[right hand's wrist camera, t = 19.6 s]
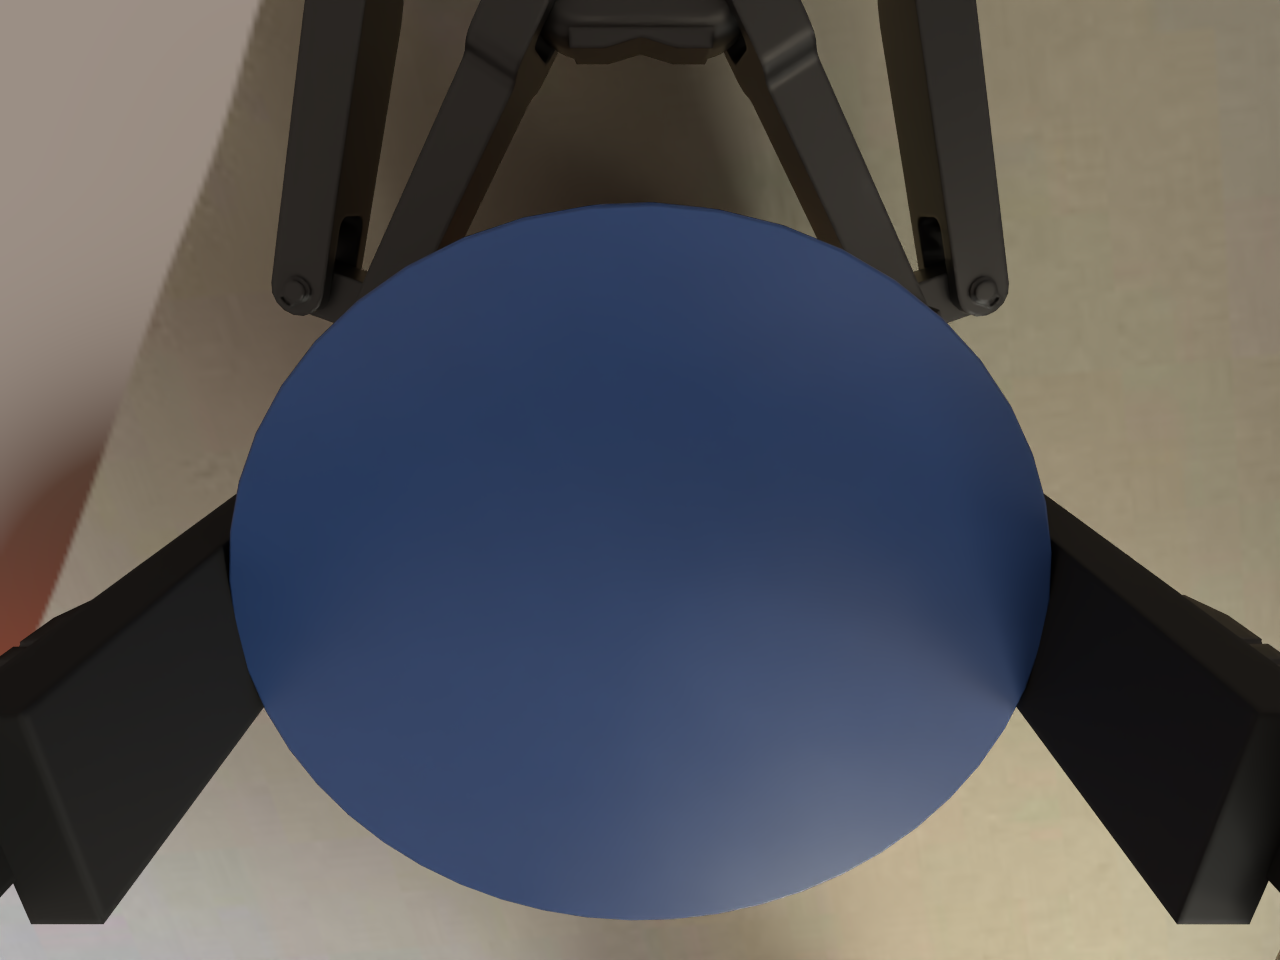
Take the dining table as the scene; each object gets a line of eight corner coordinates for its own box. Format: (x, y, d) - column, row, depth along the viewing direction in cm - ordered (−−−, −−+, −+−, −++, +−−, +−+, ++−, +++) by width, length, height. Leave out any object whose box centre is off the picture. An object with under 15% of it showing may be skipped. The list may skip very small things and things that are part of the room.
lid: (629, 896, 15) (627, 1013, 13) (167, 546, 12) (64, 622, 10) (1106, 570, 12) (1207, 650, 10) (657, 7, 9) (662, -50, 7)
